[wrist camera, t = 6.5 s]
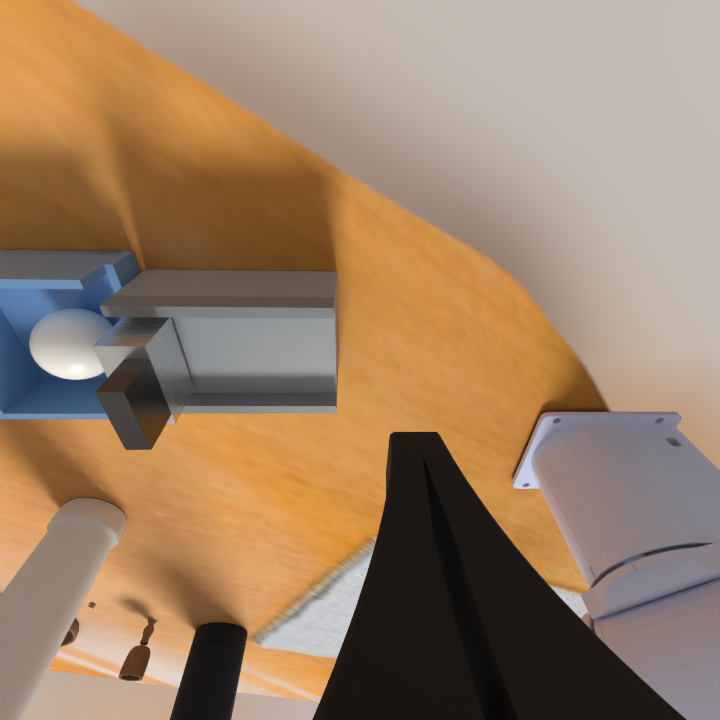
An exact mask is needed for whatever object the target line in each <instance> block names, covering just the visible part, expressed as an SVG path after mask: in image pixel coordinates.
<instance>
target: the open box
mask: <svg viewBox="0 0 720 720" xmlns="http://www.w3.org/2000/svg"><path fill="white" fill-rule="evenodd" d="M139 274H140V270H139V267H138V264H137V262H136V259H135V256H134V253H133V251H82V250H5V249H0V419H109V418H108V416H107V414H106V412H105V410H104V409H103V407H102V405H101V403H100V401H99V399H98V398H97V396H96V394H95V391H96V390H97V389H98V388H99V387H100V386H101V385H102V384H103V382H104V381H105V380H106V379H107V378H108V377H107V375H106V373H105V372H103V373H102V374H100V375H98V376H95V377H92V378H88V379H81V380H71V379H64V378H60V377H57V376H55V375H52V374H50V373H48V372H47V371H45V370H44V369H42V368H41V367H40V366H39V365H38V364H37V363H36V361H35V360H34V358H33V356H32V354H31V351H30V347H29V339H30V335H31V332H32V330H33V328H34V326H35V325H36V324H37V323H38V322H39V321H40V320H41V319H42V318H43V317H45V316H46V315H48V314H50V313H52V312H55V311H58V310H62V309H69V308H79V309H85V310H89V311H93V312H95V313H97V314H100V315H101V316H103V313H102V311H101V309H100V307H99V306H100V305H101V304H102V303H104V302H105V301H106V300H107V299H109V298H110V297H111V296H112V295H114V294H115V293H116V292H117V291H119V290H120V289H121V288H122V287H124V286H125V285H126V284H127V283H129V282H130V281H131V280H132V279H134V278H135V277H136V276H137V275H139ZM103 317H104V316H103ZM104 318H106V319H107V320H108V321H109V322H110V323H111V324H112V325H113V326H114V325H115V324H116V323H118V322H119V321H120V320H121V319H122V317H104Z"/></svg>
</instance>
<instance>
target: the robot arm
mask: <svg viewBox="0 0 720 720" xmlns="http://www.w3.org/2000/svg"><path fill="white" fill-rule="evenodd" d="M680 420H681V416H680V415H679V414H678V413H677V412H546V413H543V414H542V415H541V416H540V418H539V420H538V423H537V425H536V427H535V430H534V432H533V434H532V436H531V439H530V441H529V443H528V446H527V448H526V450H525V452H524V455H523V457H522V459H521V462H520V464H519V466H518V469H517V471H516V473H515V475H514V478H513V480H512V485H513V487H514V488H517V489H535V488H540V490H541V492H542V494H543V496H544V498H545V500H546V502H547V504H548V506H549V508H550V510H551V512H552V514H553V516H554V518H555V520H556V522H557V524H558V526H559V528H560V530H561V533H562V535H563V537H564V539H565V541H566V543H567V545H568V547H569V549H570V551H571V553H572V555H573V557H574V559H575V561H576V563H577V565H578V567H579V569H580V571H581V573H582V575H583V577H584V579H585V581H586V583H587V585H588V587H589V589H590V590H588V591H587V592H584V593H582V594H581V597H582V599H583V601H584V603H585V606H586V608H587V610H588V612H589V613H586V614H585V615H584V616H583V617H582V619H580V618H579V617H578V616H577V615H576V614H575V613H574V612H573V611H572V610H571V608H570V607H569V606H568V605H567V604H566V603H565V602H564V601H563V600H562V599H561V598H560V597H559V596H558V595H557V594H556V593H555V592H554V590H553V589H552V588H551V587H550V586H549V585H548V584H547V583H546V582H545V580H544V579H543V578H542V577H541V576H540V575H539V574H538V573H537V571H536V570H535V569H534V568H533V567H532V566H531V564H530V563H529V562H528V561H527V560H526V559H525V557H524V556H523V555H522V554H521V553H520V551H519V550H518V549H517V548H516V547H515V545H514V544H513V543H512V542H511V540H510V539H509V538H508V536H507V535H506V534H505V533H504V531H503V530H502V529H501V527H500V526H499V525H498V523H497V522H496V521H495V520H494V518H493V517H492V515H491V514H490V513H489V511H488V510H487V509H486V507H485V506H484V504H483V503H482V502H481V500H480V499H479V497H478V496H477V494H476V493H475V491H474V490H473V488H472V487H471V486H470V484H469V483H468V481H467V480H466V478H465V477H464V475H463V473H462V472H461V470H460V469H459V467H458V465H457V464H456V462H455V461H454V459H453V457H452V456H451V454H450V452H449V451H448V449H447V447H446V445H445V444H444V442H443V440H442V438H441V436H440V435H439V434H438V433H437V432H394V433H392V434H390V439H389V449H388V459H387V469H386V501H385V506H384V511H383V515H382V519H381V524H380V528H379V532H378V536H377V540H376V544H375V547H374V551H373V555H372V558H371V561H370V565H369V568H368V572H367V575H366V578H365V581H364V584H363V587H362V590H361V593H360V596H359V600H358V603H357V606H356V609H355V611H354V614H353V617H352V620H351V623H350V626H349V628H348V631H347V634H346V636H345V639H344V642H343V644H342V647H341V650H340V652H339V655H338V658H337V660H336V663H335V666H334V668H333V671H332V673H331V676H330V679H329V681H328V684H327V686H326V688H325V691H324V693H323V696H322V698H321V701H320V703H319V706H318V708H317V710H316V713H315V715H314V717H313V720H720V470H719V469H717V467H716V466H714V464H712V462H710V461H709V460H708V459H707V458H706V457H705V456H704V455H703V454H702V453H701V452H700V451H699V450H698V449H697V448H696V447H695V446H694V445H693V444H692V443H691V442H690V441H689V440H688V439H687V438H686V437H685V436H684V435H683V434H682V433H681V432H680V431H679V430H678V429H677V428H676V426H677V424H678V423H679V422H680Z"/></svg>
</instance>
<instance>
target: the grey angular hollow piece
mask: <svg viewBox="0 0 720 720" xmlns="http://www.w3.org/2000/svg"><path fill="white" fill-rule="evenodd" d="M92 347H93V349H94V351H95V353H96V355H97V357H98V359H99V361H100V363H101V365H102V367H103V369H104V371H105V373H106V375H107V377H108V378H107V379H106V380H105V381H104V382H103V384H102V385H101V386H100V387H99V388H98V389H97V390H96V391H95V394H96V396H97V398H98V399H99V401H100V403H101V405H102V407H103V409H104V410H105V412H106V414H107V416H108V418H109V420H110V422H111V423H112V425H113V427H114V429H115V431H116V433H117V435H118V436H119V438H120V440H121V442H122V444H123V446H124V447H125V449H126V450H151V449H152V447H153V446H154V444H155V442H156V440H157V439H158V437H159V435H160V434H161V432H162V430H163V428H164V427H165V425H166V424H176V422H177V420H178V418H179V416H180V415H181V413H182V411H183V409H184V407H185V405H186V404H187V402H188V400H189V398H190V396H191V395H192V393H193V391H194V387H193V384H192V381H191V378H190V375H189V372H188V369H187V366H186V363H185V360H184V357H183V353H182V350H181V347H180V344H179V341H178V338H177V335H176V332H175V329H174V326H173V323H172V320H171V317H123V318H122V319H121V320H120V321H119V322H118V323H116V324H115V325H114V326H113V327H112V328H111V329H110V330H109V331H108V332H107V333H106V334H105V335H104V336H103V337H101V338H100V339H99V340H98V341H97V342H96V343H95V344H94V345H93V346H92Z"/></svg>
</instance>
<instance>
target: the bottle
mask: <svg viewBox="0 0 720 720" xmlns="http://www.w3.org/2000/svg"><path fill="white" fill-rule="evenodd" d="M125 526H126V515H125V514H124V513H123V512H122V510H121V509H119V508H118V507H116V506H114V505H113V504H111V503H108V502H105V501H102V500H99V499H92V498H76V499H73V500H71V501H69V502H67V503H66V504H65V505H63V506H62V507H61V508H60V509H59V511H58V512H57V513H56V514H55V515H54V517H53V518H52V519H51V521H50V522H49V524H48V526H47V530H48V532H47V533H46V534H45V536H44V537H43V538H42V540H41V541H40V543H39V544H38V545H37V547H36V548H35V549H34V551H33V552H32V553H31V555H30V556H29V557H28V559H27V560H26V562H25V563H24V564H23V566H22V567H21V568H20V570H19V571H18V572H17V574H16V575H15V576H14V578H13V579H12V581H11V582H10V583H9V585H8V586H7V587H6V589H5V590H4V591H3V593H2V594H1V595H0V720H23V718H24V716H25V714H26V712H27V710H28V708H29V706H30V704H31V702H32V700H33V698H34V696H35V694H36V692H37V690H38V688H39V687H40V685H41V683H42V681H43V679H44V677H45V675H46V673H47V671H48V669H49V667H50V665H51V663H52V661H53V659H54V658H55V656H56V654H57V652H58V650H59V648H60V646H61V644H62V642H63V640H64V638H65V636H66V634H67V632H68V630H69V629H70V627H71V625H72V623H73V621H74V619H75V617H76V615H77V613H78V611H79V609H80V607H81V605H82V603H83V601H84V599H85V598H86V596H87V594H88V592H89V590H90V588H91V586H92V584H93V582H94V580H95V578H96V576H97V574H98V572H99V570H100V568H101V567H102V565H103V563H104V561H105V559H106V557H107V555H108V553H109V551H110V549H111V548H113V547H115V545H116V544H117V543H118V542H119V540H120V538H121V536H122V534H123V532H124V529H125Z"/></svg>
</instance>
